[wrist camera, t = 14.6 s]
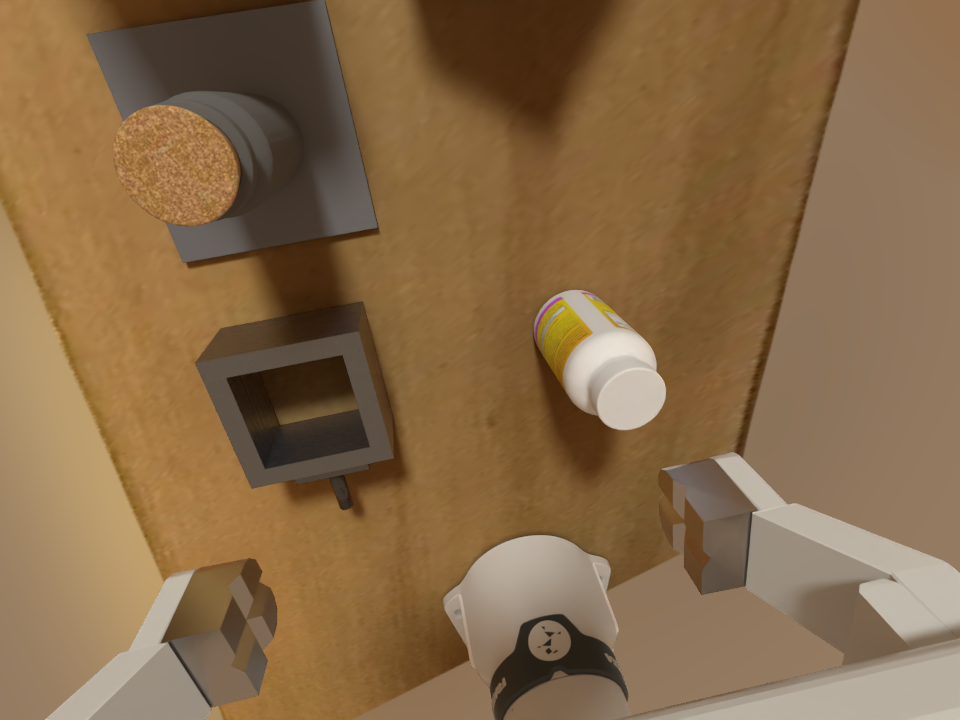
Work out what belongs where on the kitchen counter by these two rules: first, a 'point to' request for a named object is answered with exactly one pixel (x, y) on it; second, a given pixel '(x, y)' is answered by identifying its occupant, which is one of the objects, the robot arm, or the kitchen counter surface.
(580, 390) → the supplement bottle
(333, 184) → the pad
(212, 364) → the frame
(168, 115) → the bottle
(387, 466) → the kitchen counter surface
